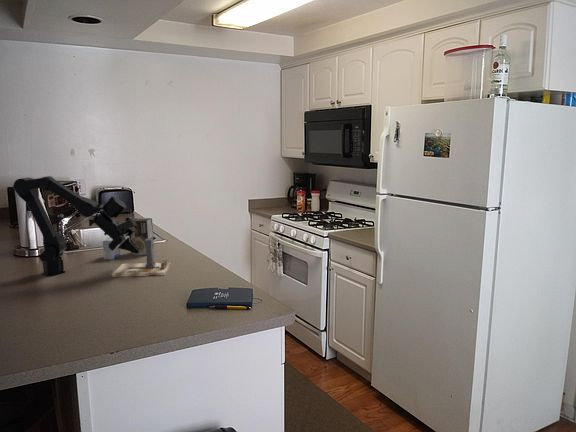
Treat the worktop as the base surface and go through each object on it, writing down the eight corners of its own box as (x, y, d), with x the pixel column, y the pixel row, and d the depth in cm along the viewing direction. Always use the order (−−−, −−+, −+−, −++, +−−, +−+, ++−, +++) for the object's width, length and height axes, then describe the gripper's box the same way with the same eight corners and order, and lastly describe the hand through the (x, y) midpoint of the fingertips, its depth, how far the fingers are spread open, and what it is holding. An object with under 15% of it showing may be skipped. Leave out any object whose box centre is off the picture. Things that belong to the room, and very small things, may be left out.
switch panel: (112, 276, 177) (111, 267, 176) (122, 266, 191) (121, 258, 190) (164, 275, 178) (164, 266, 178) (171, 265, 192) (170, 257, 191)
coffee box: (154, 251, 216) (152, 218, 213) (149, 255, 209) (147, 220, 207) (136, 251, 217) (133, 217, 214) (130, 254, 210) (127, 220, 207)
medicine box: (113, 259, 202) (112, 240, 200) (103, 259, 202) (102, 240, 201) (120, 255, 210) (119, 236, 208) (111, 255, 210) (109, 236, 208)
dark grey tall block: (145, 267, 182) (143, 240, 180) (148, 265, 186) (146, 238, 184) (153, 267, 183) (151, 240, 181) (155, 264, 187) (153, 238, 185)
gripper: (115, 215, 171) (146, 244, 173) (129, 207, 189) (157, 233, 192) (95, 236, 172) (126, 264, 174) (110, 226, 190) (139, 252, 193)
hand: (138, 252), depth 183 cm, fingers closed
